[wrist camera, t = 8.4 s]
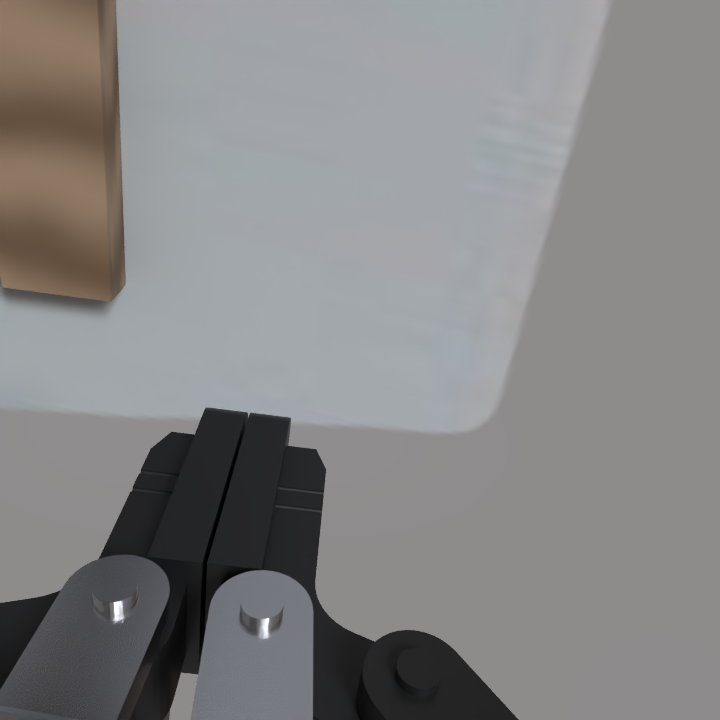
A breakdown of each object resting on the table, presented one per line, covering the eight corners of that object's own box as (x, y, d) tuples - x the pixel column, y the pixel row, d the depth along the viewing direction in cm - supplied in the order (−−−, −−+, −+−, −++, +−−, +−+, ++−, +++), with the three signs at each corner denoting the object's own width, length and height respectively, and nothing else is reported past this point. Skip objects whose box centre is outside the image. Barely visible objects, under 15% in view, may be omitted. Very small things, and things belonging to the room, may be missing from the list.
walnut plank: (-27, -151, 30) (-59, -160, 28) (111, -128, 30) (90, -136, 28) (22, 270, 40) (1, 287, 38) (125, 284, 40) (111, 301, 38)
